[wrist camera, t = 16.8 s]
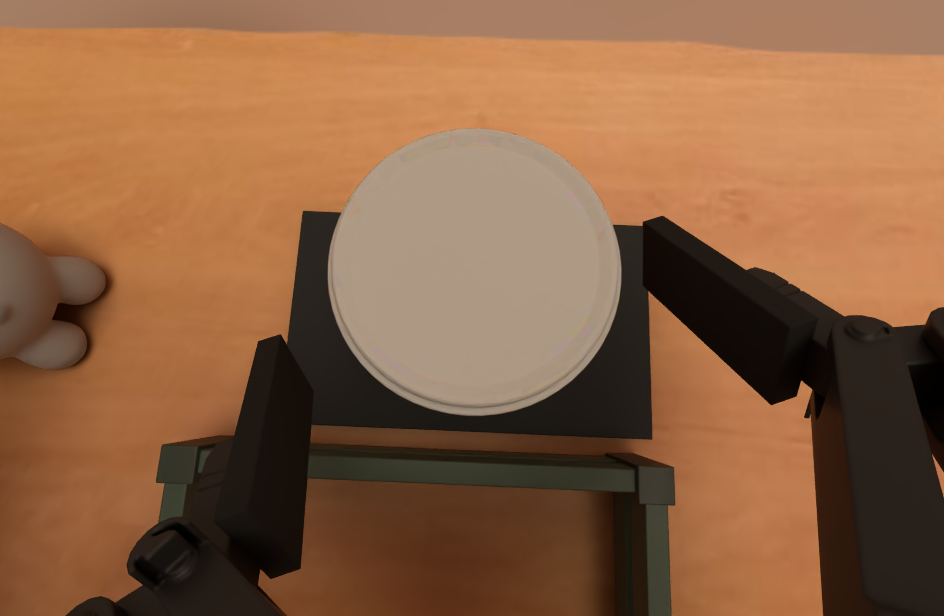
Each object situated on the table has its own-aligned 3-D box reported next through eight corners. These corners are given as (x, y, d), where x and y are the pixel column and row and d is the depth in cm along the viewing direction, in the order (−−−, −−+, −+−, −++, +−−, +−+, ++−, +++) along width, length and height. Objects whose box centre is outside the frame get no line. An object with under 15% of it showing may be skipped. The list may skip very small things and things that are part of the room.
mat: (280, 422, 25) (277, 422, 25) (305, 213, 27) (302, 210, 27) (649, 439, 25) (652, 439, 25) (644, 228, 27) (646, 225, 27)
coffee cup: (547, 418, 25) (619, 437, 13) (374, 395, 25) (291, 393, 13) (563, 252, 27) (639, 137, 15) (401, 231, 27) (349, 101, 15)
